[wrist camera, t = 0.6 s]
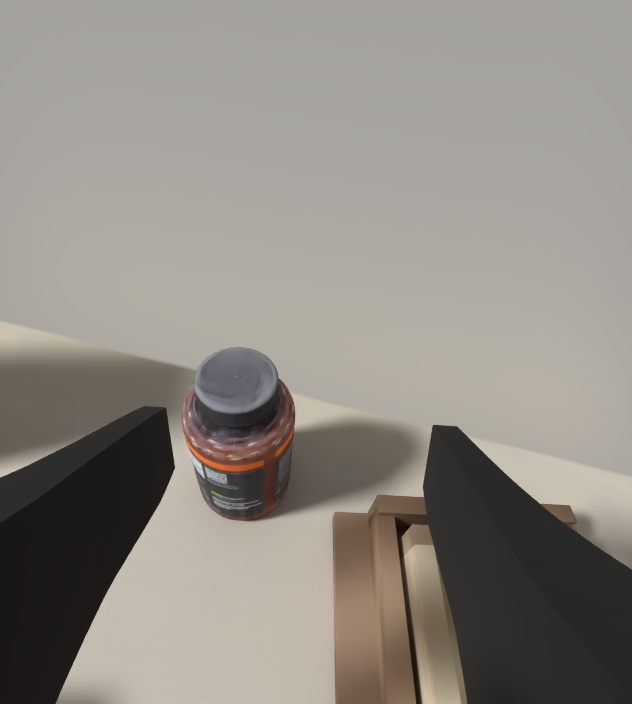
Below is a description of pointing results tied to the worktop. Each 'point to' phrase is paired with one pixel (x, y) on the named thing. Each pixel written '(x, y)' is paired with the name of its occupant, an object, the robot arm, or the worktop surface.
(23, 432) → the worktop surface
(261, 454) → the supplement bottle
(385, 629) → the bay
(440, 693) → the drawer
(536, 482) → the worktop surface
